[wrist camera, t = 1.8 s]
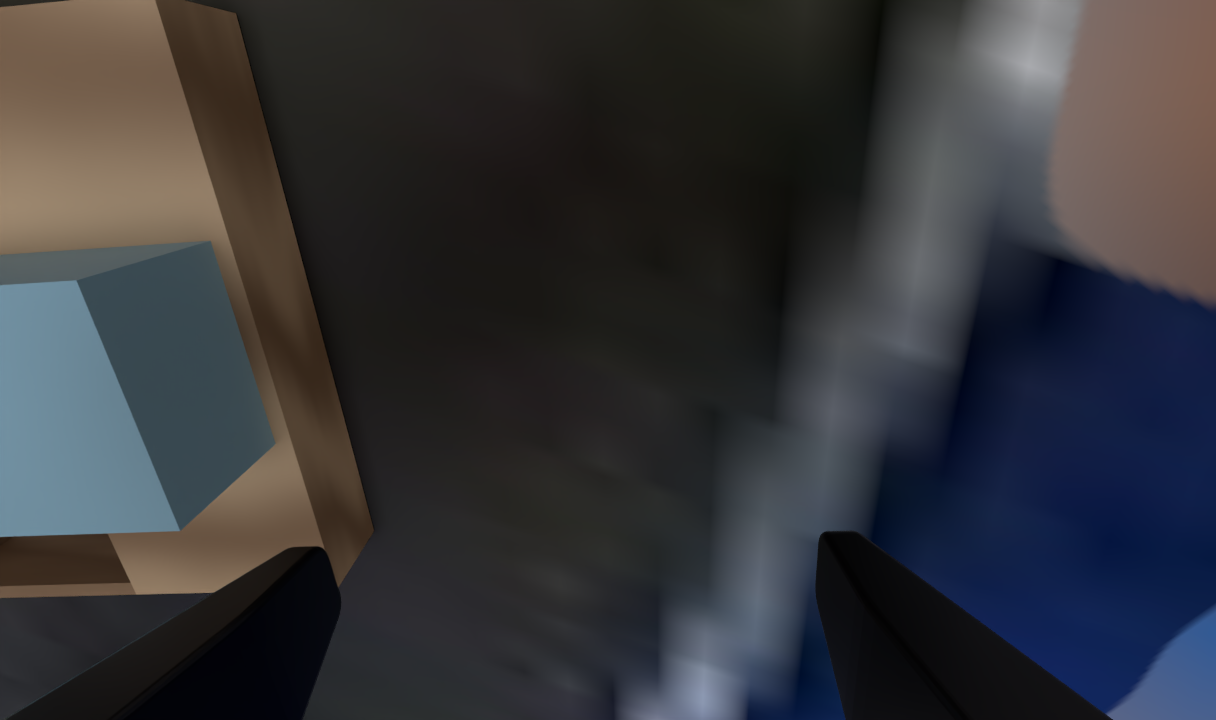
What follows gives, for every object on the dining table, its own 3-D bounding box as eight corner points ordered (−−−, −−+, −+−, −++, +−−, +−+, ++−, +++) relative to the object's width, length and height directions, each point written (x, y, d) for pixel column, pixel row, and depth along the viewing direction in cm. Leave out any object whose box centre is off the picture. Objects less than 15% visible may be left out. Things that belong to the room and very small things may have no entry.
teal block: (275, 443, 18) (180, 531, 14) (85, 452, 18) (-57, 538, 14) (211, 240, 15) (76, 280, 12) (-6, 255, 16) (-201, 297, 12)
